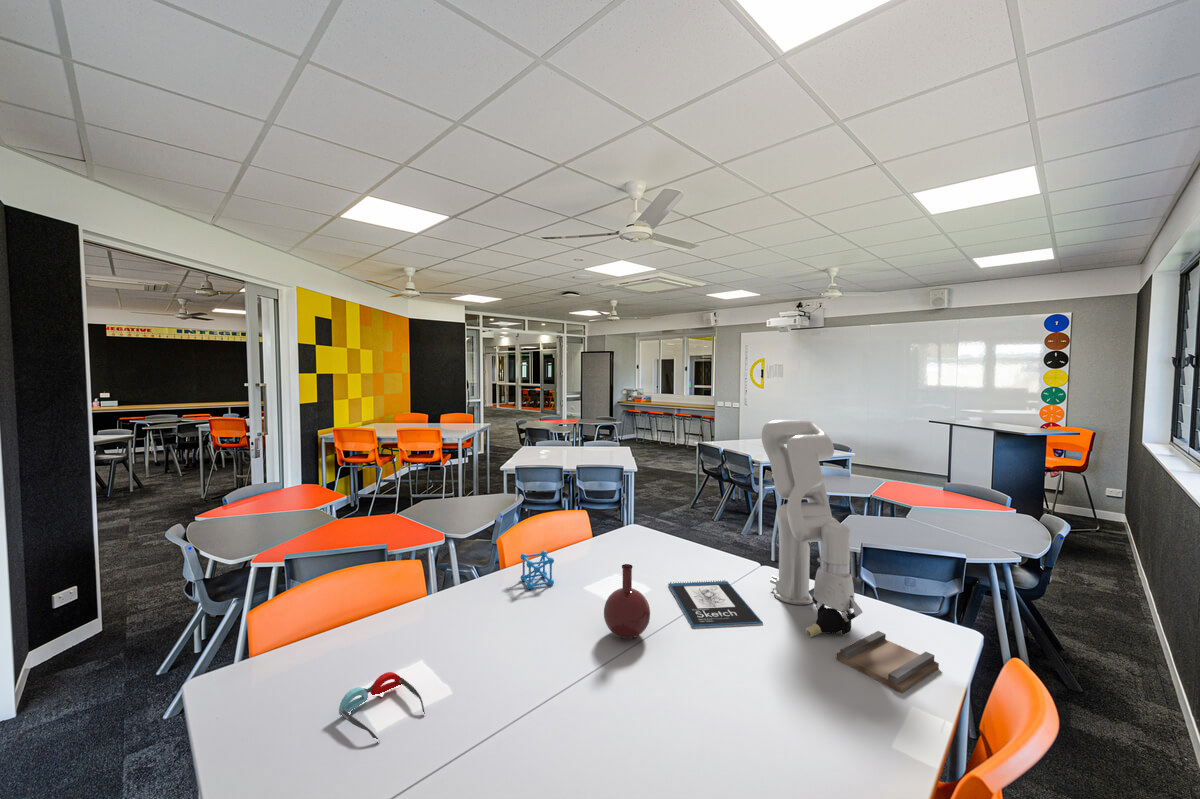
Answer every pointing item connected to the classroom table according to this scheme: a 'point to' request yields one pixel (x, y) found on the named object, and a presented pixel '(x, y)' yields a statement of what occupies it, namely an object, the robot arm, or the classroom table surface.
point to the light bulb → (826, 623)
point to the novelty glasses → (374, 689)
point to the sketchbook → (713, 604)
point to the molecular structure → (537, 569)
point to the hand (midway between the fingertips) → (833, 626)
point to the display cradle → (888, 661)
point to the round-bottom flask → (627, 609)
